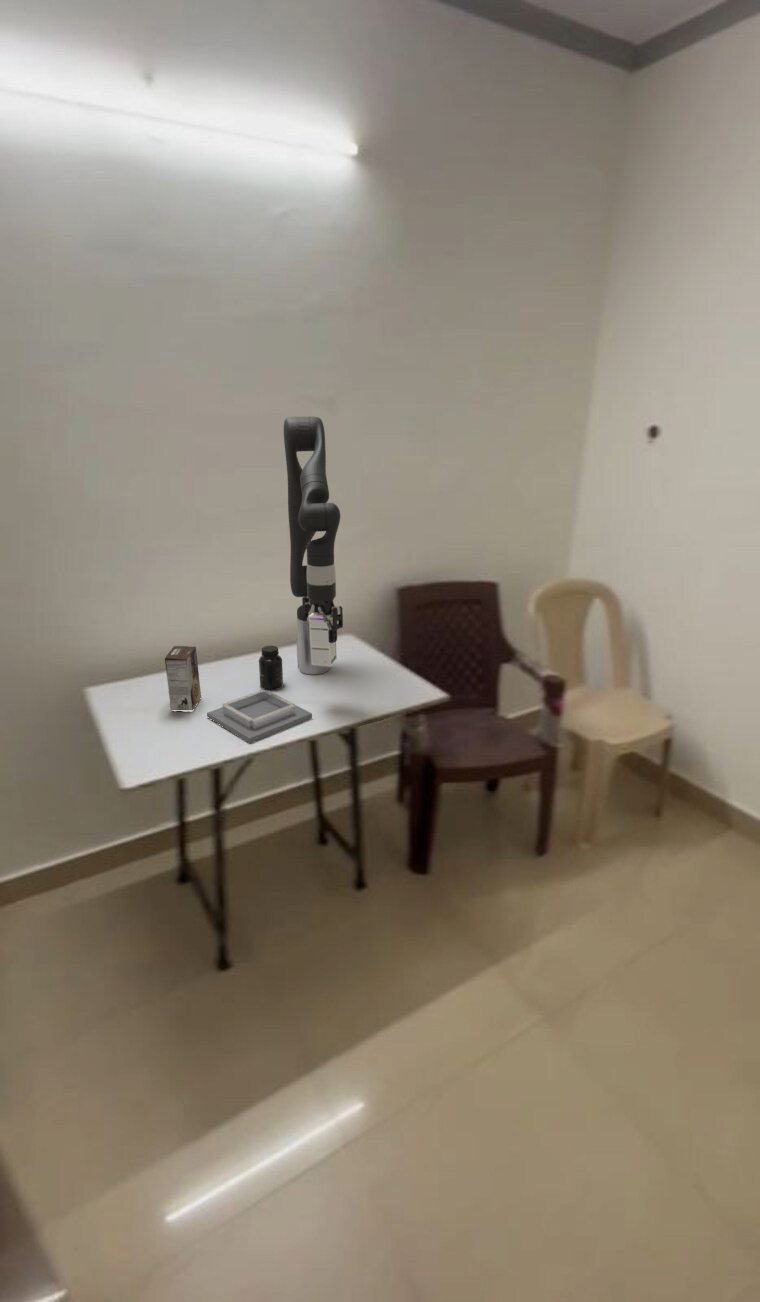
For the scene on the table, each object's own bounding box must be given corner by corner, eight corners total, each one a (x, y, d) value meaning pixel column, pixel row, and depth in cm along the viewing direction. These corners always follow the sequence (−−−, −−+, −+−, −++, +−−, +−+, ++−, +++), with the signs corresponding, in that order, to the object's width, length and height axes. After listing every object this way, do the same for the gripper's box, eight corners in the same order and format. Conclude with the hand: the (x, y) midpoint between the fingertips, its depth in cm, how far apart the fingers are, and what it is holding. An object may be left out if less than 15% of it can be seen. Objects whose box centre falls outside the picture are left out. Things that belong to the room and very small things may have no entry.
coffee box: (179, 698, 208) (173, 645, 202) (202, 698, 208) (196, 645, 202) (170, 712, 199) (163, 657, 193) (193, 712, 199) (187, 658, 193)
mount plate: (207, 717, 196) (206, 712, 196) (268, 695, 209) (267, 691, 208) (250, 743, 183) (249, 738, 182) (312, 718, 196) (311, 713, 195)
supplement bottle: (256, 688, 214) (253, 650, 209) (267, 679, 220) (264, 642, 215) (276, 692, 211) (274, 653, 207) (287, 683, 217) (285, 645, 213)
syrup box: (331, 667, 196) (330, 616, 190) (310, 665, 197) (308, 614, 191) (336, 659, 201) (335, 609, 195) (316, 657, 202) (314, 607, 197)
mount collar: (221, 712, 195) (220, 704, 195) (265, 696, 205) (265, 688, 204) (252, 730, 186) (251, 722, 185) (297, 713, 195) (296, 704, 194)
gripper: (293, 577, 192) (295, 634, 199) (327, 588, 183) (329, 649, 189) (315, 571, 197) (316, 628, 203) (350, 582, 188) (351, 641, 194)
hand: (322, 638), depth 196 cm, fingers closed on syrup box, 7 cm apart
